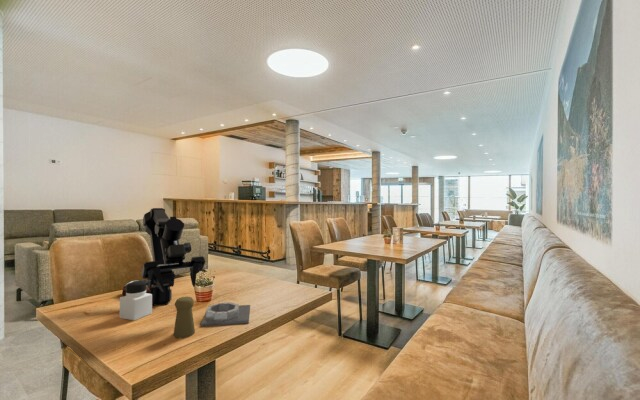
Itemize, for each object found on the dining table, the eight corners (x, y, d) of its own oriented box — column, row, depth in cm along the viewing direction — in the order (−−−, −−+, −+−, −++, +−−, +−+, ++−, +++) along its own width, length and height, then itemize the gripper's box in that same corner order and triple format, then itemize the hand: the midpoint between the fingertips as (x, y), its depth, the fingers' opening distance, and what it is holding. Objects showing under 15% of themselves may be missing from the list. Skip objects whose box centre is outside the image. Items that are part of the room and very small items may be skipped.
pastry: (119, 294, 130) (119, 280, 130) (149, 288, 139) (149, 275, 139) (127, 300, 123) (127, 285, 123) (158, 293, 132) (158, 280, 132)
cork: (177, 329, 95) (178, 294, 95) (197, 329, 95) (197, 294, 95) (169, 338, 89) (170, 301, 89) (191, 337, 89) (191, 300, 89)
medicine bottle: (152, 313, 108) (152, 280, 108) (134, 321, 101) (134, 285, 101) (137, 311, 110) (137, 278, 110) (118, 318, 103) (119, 283, 104)
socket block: (201, 326, 97) (201, 315, 97) (208, 309, 112) (208, 300, 112) (248, 323, 100) (248, 312, 100) (250, 307, 115) (250, 298, 115)
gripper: (143, 236, 95) (149, 279, 87) (203, 233, 107) (214, 270, 98) (139, 258, 101) (144, 299, 93) (197, 252, 113) (206, 288, 104)
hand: (179, 288), depth 97 cm, fingers open, 9 cm apart
